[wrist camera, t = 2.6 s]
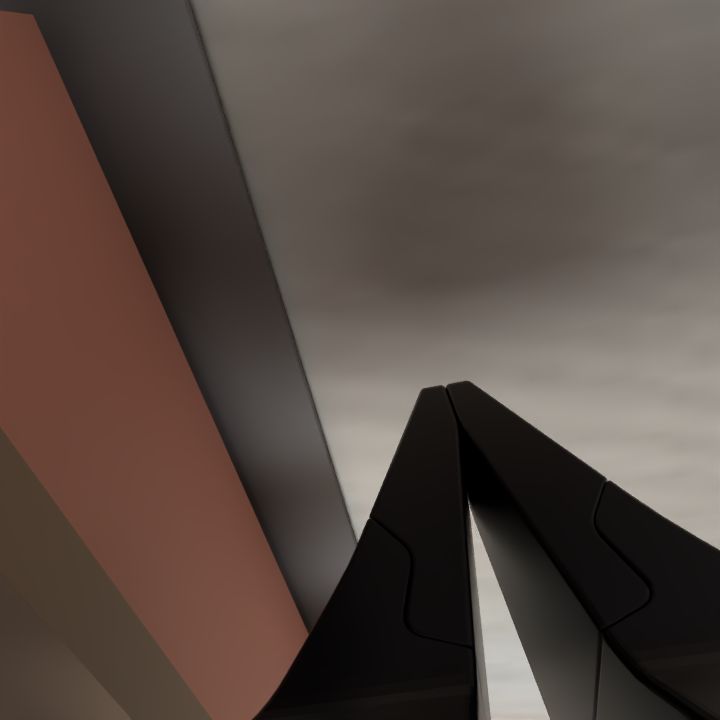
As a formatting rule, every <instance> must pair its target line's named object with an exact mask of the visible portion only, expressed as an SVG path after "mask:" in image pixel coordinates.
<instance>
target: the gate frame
mask: <svg viewBox="0 0 720 720" xmlns="http://www.w3.org/2000/svg"><path fill="white" fill-rule="evenodd" d="M0 11H8V12H16V13H23V14H31V15H33V16H34V18H35V20H36V23H37V25H38V27H39V29H40V32H41V34H42V36H43V38H44V41H45V43H46V45H47V47H48V49H49V52H50V54H51V56H52V58H53V61H54V63H55V65H56V67H57V70H58V72H59V74H60V76H61V79H62V81H63V83H64V85H65V88H66V90H67V92H68V94H69V97H70V99H71V101H72V103H73V106H74V108H75V110H76V112H77V115H78V117H79V119H80V121H81V124H82V126H83V128H84V130H85V133H86V135H87V137H88V139H89V142H90V144H91V146H92V148H93V151H94V153H95V155H96V157H97V160H98V162H99V164H100V166H101V169H102V171H103V173H104V175H105V178H106V180H107V182H108V184H109V187H110V189H111V191H112V193H113V196H114V198H115V200H116V202H117V205H118V207H119V209H120V211H121V214H122V216H123V218H124V220H125V223H126V225H127V227H128V229H129V232H130V234H131V236H132V238H133V241H134V243H135V245H136V247H137V250H138V252H139V254H140V256H141V259H142V261H143V263H144V265H145V268H146V270H147V272H148V274H149V277H150V279H151V281H152V283H153V286H154V288H155V290H156V292H157V295H158V297H159V299H160V301H161V304H162V306H163V308H164V310H165V313H166V315H167V317H168V319H169V322H170V324H171V326H172V328H173V330H174V333H175V335H176V337H177V339H178V342H179V344H180V346H181V348H182V351H183V353H184V355H185V357H186V360H187V362H188V364H189V366H190V369H191V371H192V373H193V375H194V378H195V380H196V382H197V384H198V387H199V389H200V391H201V393H202V396H203V398H204V400H205V402H206V405H207V407H208V409H209V411H210V414H211V416H212V418H213V420H214V423H215V425H216V427H217V429H218V432H219V434H220V436H221V438H222V441H223V443H224V445H225V447H226V450H227V452H228V454H229V456H230V459H231V461H232V463H233V465H234V468H235V470H236V472H237V474H238V477H239V479H240V481H241V483H242V486H243V488H244V490H245V492H246V495H247V497H248V499H249V501H250V504H251V506H252V508H253V510H254V513H255V515H256V517H257V519H258V522H259V524H260V526H261V528H262V531H263V533H264V535H265V537H266V540H267V542H268V544H269V546H270V549H271V551H272V553H273V555H274V558H275V560H276V562H277V564H278V567H279V569H280V571H281V573H282V576H283V578H284V580H285V582H286V585H287V587H288V589H289V591H290V594H291V596H292V598H293V600H294V603H295V605H296V607H297V609H298V611H299V614H300V616H301V618H302V620H303V623H304V625H305V627H306V629H307V632H308V634H309V633H310V632H311V630H312V628H313V626H314V625H315V623H316V621H317V619H318V618H319V616H320V614H321V613H322V611H323V609H324V607H325V606H326V604H327V602H328V600H329V599H330V597H331V595H332V593H333V592H334V590H335V588H336V586H337V584H338V582H339V580H340V579H341V577H342V575H343V573H344V571H345V569H346V568H347V566H348V564H349V561H350V559H351V557H352V555H353V553H354V550H355V548H356V546H357V543H356V540H355V536H354V533H353V530H352V527H351V523H350V520H349V517H348V514H347V511H346V507H345V504H344V501H343V498H342V494H341V491H340V488H339V485H338V482H337V478H336V475H335V472H334V469H333V465H332V462H331V459H330V456H329V452H328V449H327V446H326V443H325V440H324V436H323V433H322V430H321V427H320V423H319V420H318V417H317V414H316V411H315V407H314V404H313V401H312V398H311V394H310V391H309V388H308V385H307V382H306V378H305V375H304V372H303V369H302V365H301V362H300V359H299V356H298V353H297V349H296V346H295V343H294V340H293V336H292V333H291V330H290V327H289V324H288V320H287V317H286V314H285V311H284V307H283V304H282V301H281V298H280V295H279V291H278V288H277V285H276V282H275V278H274V275H273V272H272V269H271V266H270V262H269V259H268V256H267V253H266V249H265V246H264V243H263V240H262V236H261V233H260V230H259V227H258V224H257V220H256V217H255V214H254V211H253V207H252V204H251V201H250V198H249V195H248V191H247V188H246V185H245V182H244V178H243V175H242V172H241V169H240V166H239V162H238V159H237V156H236V153H235V149H234V146H233V143H232V140H231V137H230V133H229V130H228V127H227V124H226V120H225V117H224V114H223V111H222V108H221V104H220V101H219V98H218V95H217V91H216V88H215V85H214V82H213V79H212V75H211V72H210V69H209V66H208V62H207V59H206V56H205V53H204V50H203V46H202V43H201V40H200V37H199V33H198V30H197V27H196V24H195V20H194V17H193V14H192V11H191V8H190V4H189V1H188V0H0Z"/></svg>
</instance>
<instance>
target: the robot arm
mask: <svg viewBox="0 0 720 720" xmlns="http://www.w3.org/2000/svg"><path fill="white" fill-rule="evenodd" d="M468 501H469V503H468ZM469 505H470V508H471V511H472V514H473V517H474V520H475V523H476V525H477V528H478V531H479V533H480V536H481V538H482V541H483V544H484V546H485V549H486V552H487V554H488V557H489V559H490V562H491V565H492V567H493V570H494V573H495V575H496V578H497V580H498V583H499V586H500V588H501V591H502V594H503V596H504V599H505V601H506V604H507V607H508V609H509V612H510V615H511V617H512V620H513V622H514V625H515V628H516V630H517V633H518V636H519V638H520V641H521V643H522V646H523V649H524V651H525V654H526V657H527V659H528V662H529V664H530V667H531V670H532V672H533V675H534V678H535V680H536V683H537V686H538V688H539V691H540V693H541V696H542V699H543V701H544V704H545V707H546V709H547V712H548V714H549V717H550V720H720V550H719V549H717V548H715V547H713V546H712V545H710V544H708V543H706V542H705V541H703V540H701V539H700V538H698V537H696V536H695V535H693V534H691V533H690V532H688V531H686V530H685V529H683V528H681V527H680V526H678V525H676V524H675V523H673V522H671V521H670V520H668V519H667V518H665V517H663V516H662V515H660V514H659V513H657V512H656V511H654V510H653V509H651V508H650V507H648V506H647V505H645V504H644V503H642V502H641V501H639V500H638V499H636V498H635V497H633V496H632V495H630V494H629V493H627V492H626V491H625V490H623V489H622V488H620V487H619V486H618V485H616V484H615V483H613V482H612V481H607V479H606V477H604V476H603V475H602V474H600V473H599V472H597V471H596V470H595V469H593V468H592V467H590V466H589V465H587V464H586V463H585V462H583V461H582V460H580V459H579V458H578V457H576V456H575V455H573V454H572V453H570V452H569V451H568V450H566V449H565V448H563V447H562V446H561V445H559V444H558V443H556V442H555V441H554V440H552V439H551V438H549V437H548V436H546V435H545V434H544V433H542V432H541V431H539V430H538V429H537V428H535V427H534V426H532V425H531V424H529V423H528V422H527V421H525V420H524V419H522V418H521V417H520V416H518V415H517V414H515V413H514V412H512V411H511V410H510V409H508V408H507V407H505V406H504V405H503V404H501V403H500V402H498V401H497V400H496V399H494V398H493V397H491V396H490V395H488V394H487V393H486V392H484V391H483V390H481V389H480V388H479V387H477V386H476V385H474V384H473V383H471V382H470V381H462V382H457V383H451V384H448V385H447V386H446V388H445V387H444V386H442V385H440V386H434V387H429V388H424V389H422V390H421V391H420V394H419V396H418V398H417V401H416V403H415V406H414V408H413V411H412V413H411V416H410V418H409V420H408V423H407V425H406V428H405V430H404V433H403V435H402V438H401V440H400V442H399V445H398V447H397V450H396V452H395V455H394V457H393V459H392V462H391V464H390V467H389V469H388V472H387V474H386V477H385V479H384V481H383V484H382V486H381V489H380V491H379V494H378V496H377V499H376V501H375V503H374V506H373V508H372V511H371V513H370V516H369V518H370V519H368V520H367V522H366V525H365V527H364V530H363V532H362V535H361V537H360V539H359V542H358V544H357V546H356V548H355V550H354V553H353V555H352V557H351V559H350V561H349V564H348V566H347V568H346V569H345V571H344V573H343V575H342V577H341V579H340V580H339V582H338V584H337V586H336V588H335V590H334V592H333V593H332V595H331V597H330V599H329V600H328V602H327V604H326V606H325V607H324V609H323V611H322V613H321V614H320V616H319V618H318V619H317V621H316V623H315V625H314V626H313V628H312V630H311V632H310V633H309V635H308V637H307V638H306V640H305V642H304V644H303V645H302V647H301V649H300V651H299V652H298V654H297V656H296V657H295V659H294V661H293V663H292V664H291V666H290V668H289V670H288V671H287V673H286V675H285V676H284V678H283V680H282V681H281V683H280V685H279V686H278V688H277V689H276V691H275V692H274V693H273V695H272V696H271V698H270V699H269V700H268V702H267V703H266V704H265V705H264V706H263V708H262V709H261V710H260V711H259V712H258V713H257V714H256V716H255V717H254V718H253V719H252V720H491V717H490V707H489V697H488V687H487V677H486V667H485V657H484V647H483V638H482V628H481V618H480V608H479V598H478V588H477V578H476V568H475V558H474V548H473V538H472V528H471V519H470V511H469Z"/></svg>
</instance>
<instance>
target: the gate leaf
mask: <svg viewBox="0 0 720 720" xmlns="http://www.w3.org/2000/svg"><path fill="white" fill-rule="evenodd" d="M308 635H309V634H308V632H307V629H306V627H305V625H304V623H303V620H302V618H301V616H300V614H299V611H298V609H297V607H296V605H295V603H294V600H293V598H292V596H291V594H290V591H289V589H288V587H287V585H286V582H285V580H284V578H283V576H282V573H281V571H280V569H279V567H278V564H277V562H276V560H275V558H274V555H273V553H272V551H271V549H270V546H269V544H268V542H267V540H266V537H265V535H264V533H263V531H262V528H261V526H260V524H259V522H258V519H257V517H256V515H255V513H254V510H253V508H252V506H251V504H250V501H249V499H248V497H247V495H246V492H245V490H244V488H243V486H242V483H241V481H240V479H239V477H238V474H237V472H236V470H235V468H234V465H233V463H232V461H231V459H230V456H229V454H228V452H227V450H226V447H225V445H224V443H223V441H222V438H221V436H220V434H219V432H218V429H217V427H216V425H215V423H214V420H213V418H212V416H211V414H210V411H209V409H208V407H207V405H206V402H205V400H204V398H203V396H202V393H201V391H200V389H199V387H198V384H197V382H196V380H195V378H194V375H193V373H192V371H191V369H190V366H189V364H188V362H187V360H186V357H185V355H184V353H183V351H182V348H181V346H180V344H179V342H178V339H177V337H176V335H175V333H174V330H173V328H172V326H171V324H170V322H169V319H168V317H167V315H166V313H165V310H164V308H163V306H162V304H161V301H160V299H159V297H158V295H157V292H156V290H155V288H154V286H153V283H152V281H151V279H150V277H149V274H148V272H147V270H146V268H145V265H144V263H143V261H142V259H141V256H140V254H139V252H138V250H137V247H136V245H135V243H134V241H133V238H132V236H131V234H130V232H129V229H128V227H127V225H126V223H125V220H124V218H123V216H122V214H121V211H120V209H119V207H118V205H117V202H116V200H115V198H114V196H113V193H112V191H111V189H110V187H109V184H108V182H107V180H106V178H105V175H104V173H103V171H102V169H101V166H100V164H99V162H98V160H97V157H96V155H95V153H94V151H93V148H92V146H91V144H90V142H89V139H88V137H87V135H86V133H85V130H84V128H83V126H82V124H81V121H80V119H79V117H78V115H77V112H76V110H75V108H74V106H73V103H72V101H71V99H70V97H69V94H68V92H67V90H66V88H65V85H64V83H63V81H62V79H61V76H60V74H59V72H58V70H57V67H56V65H55V63H54V61H53V58H52V56H51V54H50V52H49V49H48V47H47V45H46V43H45V41H44V38H43V36H42V34H41V32H40V29H39V27H38V25H37V23H36V20H35V18H34V16H33V15H31V14H23V13H16V12H8V11H0V720H252V719H253V718H254V717H255V716H256V714H257V713H258V712H259V711H260V710H261V709H262V708H263V706H264V705H265V704H266V703H267V702H268V700H269V699H270V698H271V696H272V695H273V693H274V692H275V691H276V689H277V688H278V686H279V685H280V683H281V681H282V680H283V678H284V676H285V675H286V673H287V671H288V670H289V668H290V666H291V664H292V663H293V661H294V659H295V657H296V656H297V654H298V652H299V651H300V649H301V647H302V645H303V644H304V642H305V640H306V638H307V637H308Z"/></svg>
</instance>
